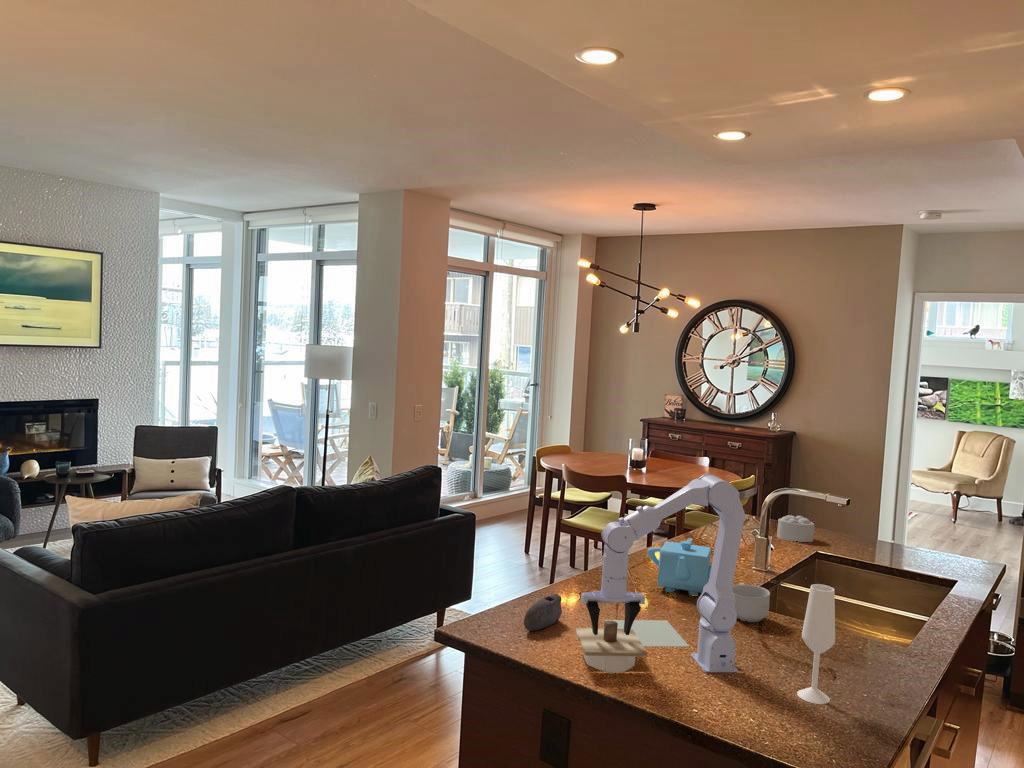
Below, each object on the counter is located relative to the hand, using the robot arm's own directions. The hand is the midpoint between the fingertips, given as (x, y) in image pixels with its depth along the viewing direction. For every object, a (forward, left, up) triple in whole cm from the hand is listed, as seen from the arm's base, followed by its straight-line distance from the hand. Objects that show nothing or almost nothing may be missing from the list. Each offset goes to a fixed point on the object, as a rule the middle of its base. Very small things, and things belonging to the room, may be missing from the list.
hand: (610, 633), depth 179 cm
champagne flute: (-17, -41, -7) cm, 45 cm away
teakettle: (+51, -37, -7) cm, 64 cm away
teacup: (+30, -47, -7) cm, 56 cm away
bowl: (0, 0, -7) cm, 7 cm away
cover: (0, 0, -2) cm, 3 cm away
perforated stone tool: (+22, +12, -7) cm, 26 cm away
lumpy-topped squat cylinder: (+113, -105, -7) cm, 154 cm away
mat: (+17, -14, -7) cm, 23 cm away
